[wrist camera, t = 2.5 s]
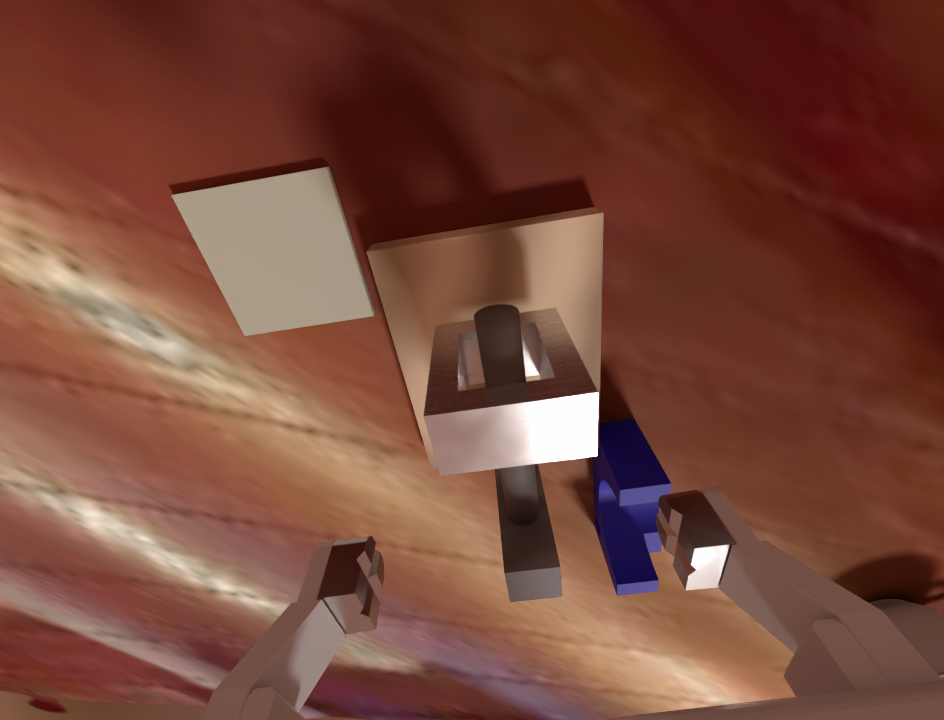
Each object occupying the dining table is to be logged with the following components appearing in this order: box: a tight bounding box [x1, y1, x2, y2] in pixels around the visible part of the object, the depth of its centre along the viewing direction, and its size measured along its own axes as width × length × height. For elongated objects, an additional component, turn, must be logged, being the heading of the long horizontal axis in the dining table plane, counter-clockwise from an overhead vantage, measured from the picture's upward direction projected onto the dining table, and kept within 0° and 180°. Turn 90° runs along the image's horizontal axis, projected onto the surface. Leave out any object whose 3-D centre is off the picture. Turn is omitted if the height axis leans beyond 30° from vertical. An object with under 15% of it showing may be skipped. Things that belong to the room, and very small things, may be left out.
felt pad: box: [171, 167, 375, 336], centre depth 21 cm, size 8×8×1 cm
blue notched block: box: [593, 419, 671, 596], centre depth 29 cm, size 12×4×6 cm, turn 10°
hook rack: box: [367, 207, 603, 602], centre depth 20 cm, size 12×16×12 cm
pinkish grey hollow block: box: [423, 307, 598, 476], centre depth 17 cm, size 6×3×7 cm, turn 99°
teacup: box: [869, 599, 944, 680], centre depth 41 cm, size 14×11×8 cm
